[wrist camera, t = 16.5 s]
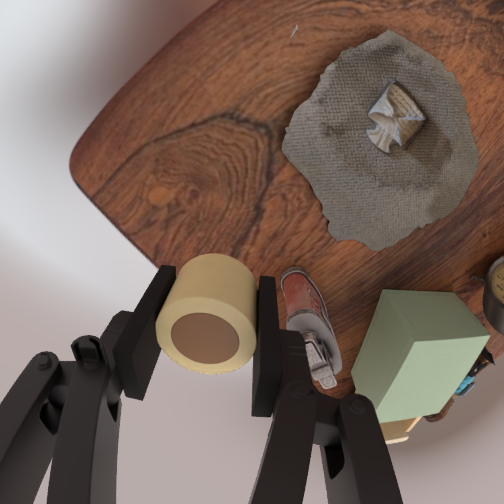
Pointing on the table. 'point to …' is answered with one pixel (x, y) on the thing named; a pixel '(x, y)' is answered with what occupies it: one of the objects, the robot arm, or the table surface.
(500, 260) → the alarm clock
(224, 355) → the tape
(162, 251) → the table surface
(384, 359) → the cabinet
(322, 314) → the lighter
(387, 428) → the drawer
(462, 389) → the figurine
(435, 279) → the table surface
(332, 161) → the grey stone sculpture
